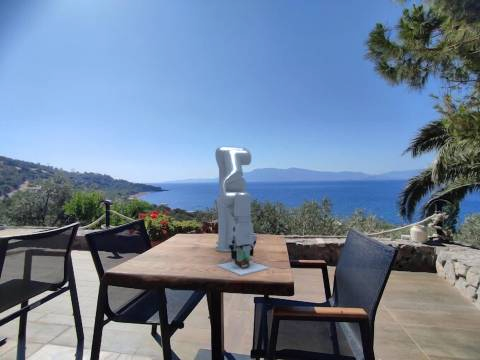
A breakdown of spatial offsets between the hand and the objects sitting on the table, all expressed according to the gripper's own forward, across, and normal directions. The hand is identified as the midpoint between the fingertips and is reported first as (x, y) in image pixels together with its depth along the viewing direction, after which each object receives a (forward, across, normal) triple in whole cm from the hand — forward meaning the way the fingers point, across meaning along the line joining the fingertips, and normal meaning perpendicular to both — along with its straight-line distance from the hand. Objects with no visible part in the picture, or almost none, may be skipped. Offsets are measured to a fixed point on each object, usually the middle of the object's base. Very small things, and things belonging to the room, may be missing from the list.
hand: (242, 257), depth 127 cm
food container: (+4, +1, 0) cm, 4 cm away
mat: (+5, 0, 0) cm, 5 cm away
